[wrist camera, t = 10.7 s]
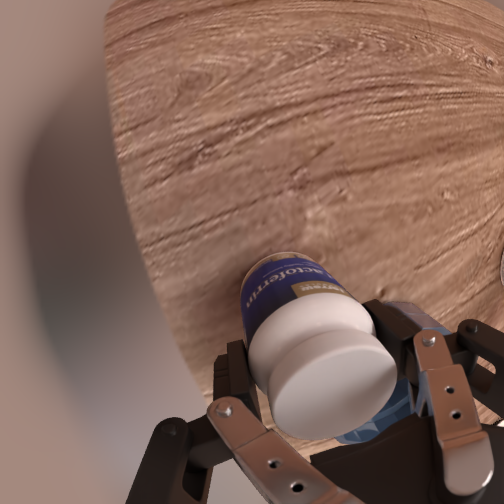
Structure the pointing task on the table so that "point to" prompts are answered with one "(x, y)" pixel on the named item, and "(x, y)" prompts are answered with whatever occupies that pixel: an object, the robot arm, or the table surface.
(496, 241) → the table surface
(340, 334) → the pill bottle
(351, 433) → the bowl
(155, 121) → the table surface
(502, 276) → the vase
